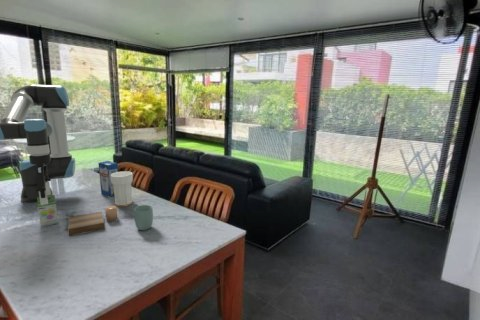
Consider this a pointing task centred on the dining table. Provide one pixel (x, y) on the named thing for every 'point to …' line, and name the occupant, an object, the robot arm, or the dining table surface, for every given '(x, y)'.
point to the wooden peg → (111, 213)
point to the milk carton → (107, 177)
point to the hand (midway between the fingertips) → (46, 199)
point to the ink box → (48, 212)
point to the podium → (85, 223)
